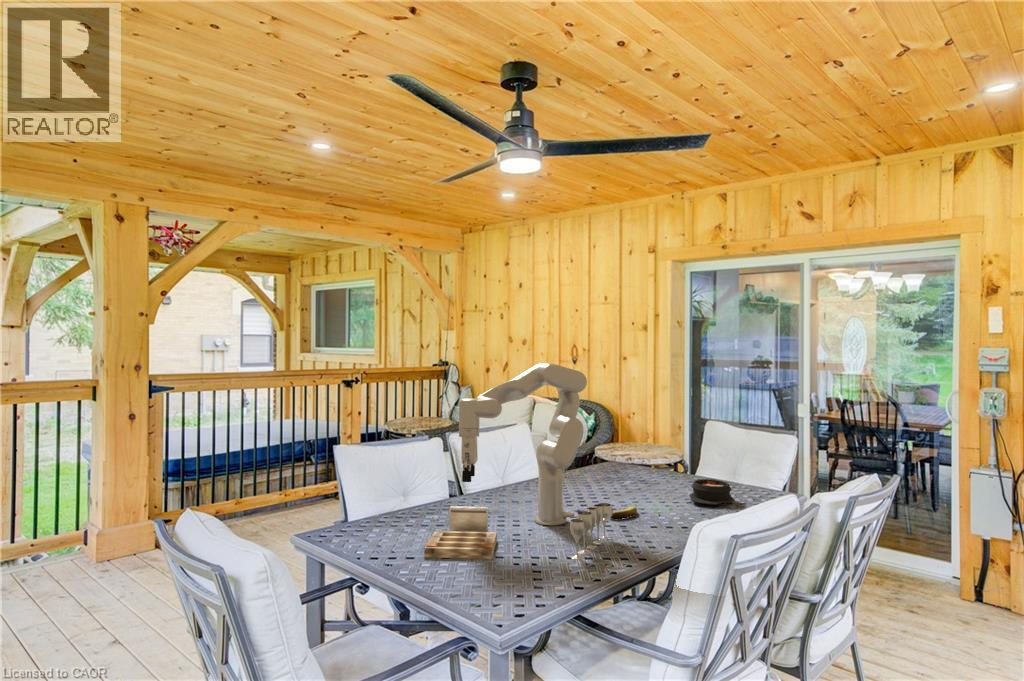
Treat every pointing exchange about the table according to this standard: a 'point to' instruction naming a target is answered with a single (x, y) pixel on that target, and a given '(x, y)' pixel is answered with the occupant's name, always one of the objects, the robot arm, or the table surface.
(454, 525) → the blanking panel
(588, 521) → the goblet set
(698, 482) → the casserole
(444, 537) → the rack
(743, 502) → the table surface
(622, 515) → the yellow brown curved block
